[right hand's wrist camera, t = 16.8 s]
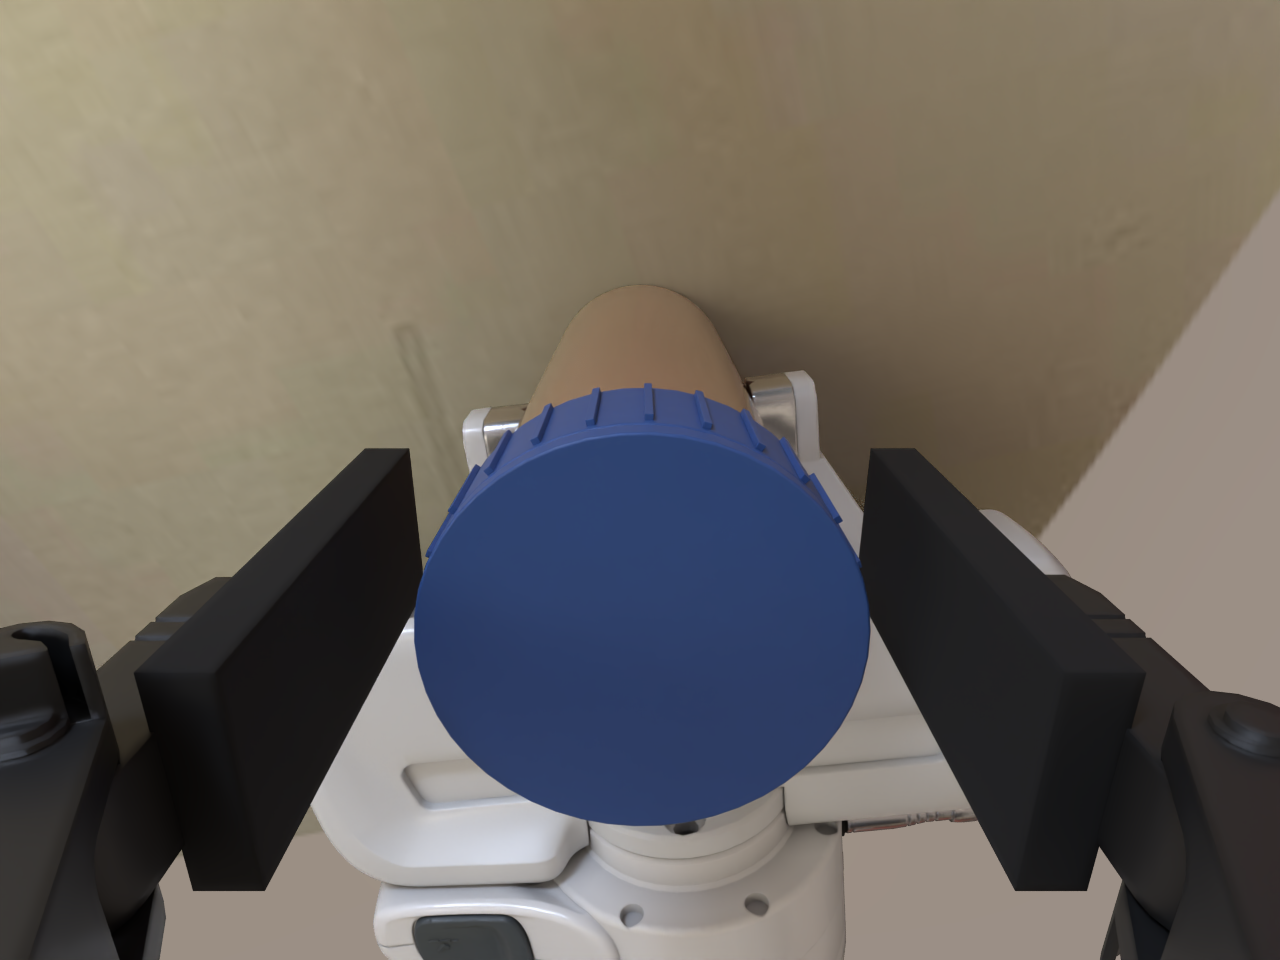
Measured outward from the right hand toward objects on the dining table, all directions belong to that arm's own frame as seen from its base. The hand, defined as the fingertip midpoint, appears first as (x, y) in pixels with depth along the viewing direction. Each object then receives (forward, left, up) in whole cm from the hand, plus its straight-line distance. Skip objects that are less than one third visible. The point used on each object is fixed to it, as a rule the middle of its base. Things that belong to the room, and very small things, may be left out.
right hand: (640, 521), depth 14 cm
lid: (0, 0, +4) cm, 4 cm away
